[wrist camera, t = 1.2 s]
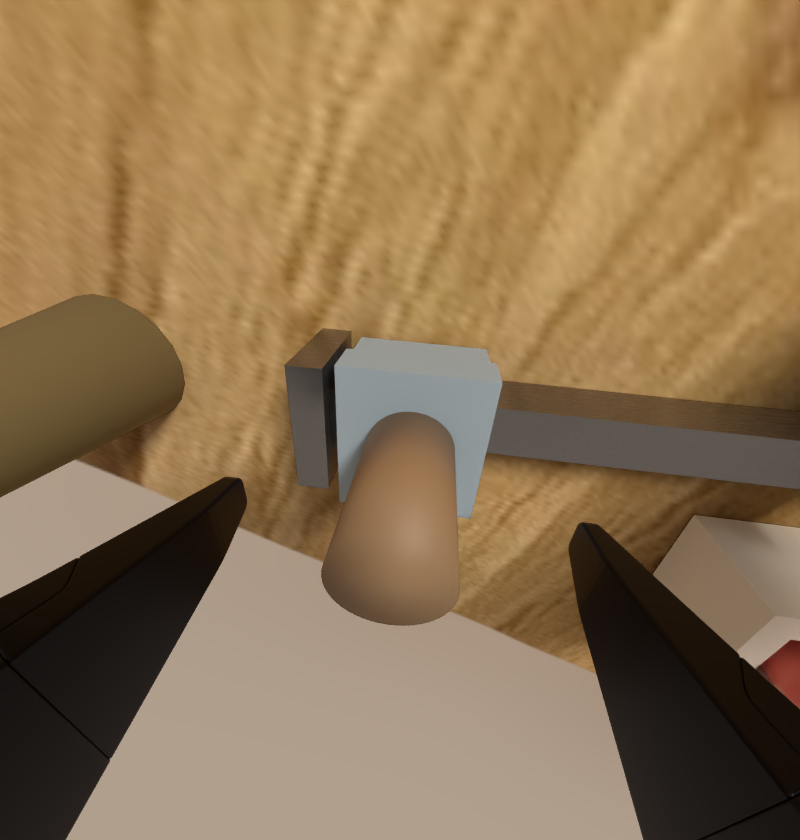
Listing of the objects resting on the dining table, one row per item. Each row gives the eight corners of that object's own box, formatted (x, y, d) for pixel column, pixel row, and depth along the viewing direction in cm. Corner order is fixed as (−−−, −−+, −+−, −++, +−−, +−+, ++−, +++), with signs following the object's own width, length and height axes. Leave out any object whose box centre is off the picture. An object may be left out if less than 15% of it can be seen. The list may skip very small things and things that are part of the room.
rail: (913, 385, 13) (1078, 447, 10) (820, 486, 16) (925, 564, 12) (322, 328, 14) (284, 365, 11) (328, 430, 17) (298, 485, 14)
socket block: (825, 530, 17) (953, 640, 13) (752, 603, 20) (835, 711, 16) (694, 514, 17) (775, 615, 13) (642, 588, 20) (694, 689, 16)
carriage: (488, 339, 14) (542, 506, 6) (465, 455, 17) (482, 667, 9) (361, 327, 14) (258, 471, 6) (361, 442, 17) (290, 637, 9)
